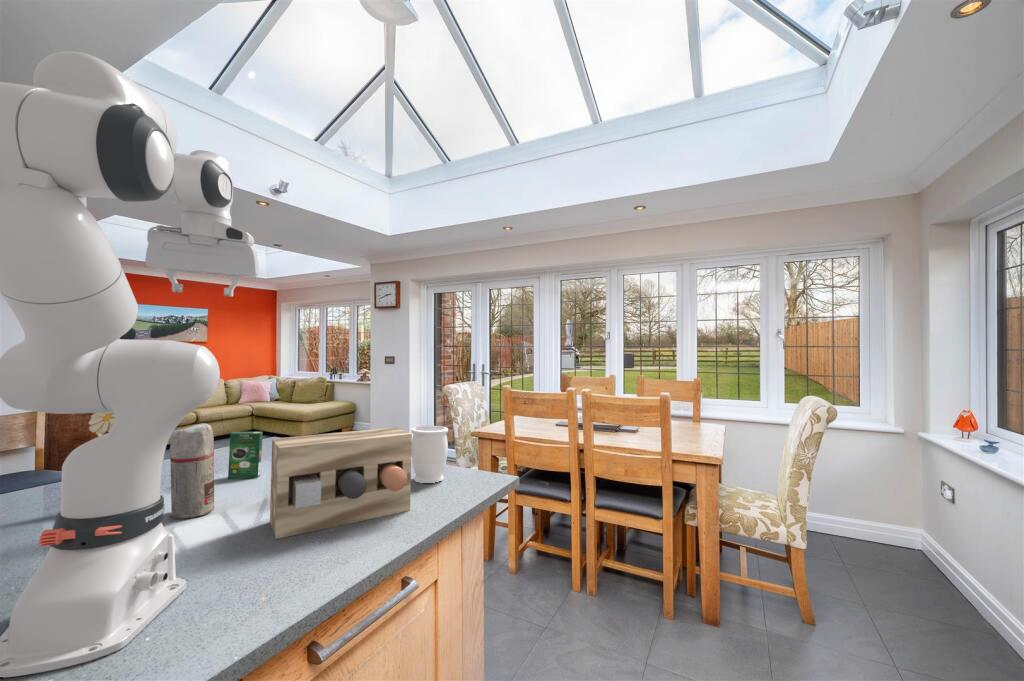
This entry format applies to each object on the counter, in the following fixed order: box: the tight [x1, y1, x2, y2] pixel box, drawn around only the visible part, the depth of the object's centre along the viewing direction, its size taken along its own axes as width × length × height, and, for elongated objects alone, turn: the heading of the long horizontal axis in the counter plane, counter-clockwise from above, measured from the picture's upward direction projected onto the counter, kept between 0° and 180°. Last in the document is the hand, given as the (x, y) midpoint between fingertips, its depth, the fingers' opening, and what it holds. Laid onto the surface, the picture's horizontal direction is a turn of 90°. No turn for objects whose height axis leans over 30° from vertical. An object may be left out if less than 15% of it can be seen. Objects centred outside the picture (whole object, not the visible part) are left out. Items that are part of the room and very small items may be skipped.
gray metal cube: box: [291, 475, 321, 508], centre depth 88 cm, size 5×5×5 cm
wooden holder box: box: [269, 426, 413, 540], centre depth 98 cm, size 10×28×18 cm, turn 125°
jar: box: [411, 425, 449, 484], centre depth 126 cm, size 11×10×15 cm
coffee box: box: [227, 431, 263, 479], centre depth 125 cm, size 8×3×13 cm, turn 103°
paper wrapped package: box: [168, 423, 215, 520], centre depth 98 cm, size 8×8×20 cm
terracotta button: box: [378, 463, 407, 491], centre depth 98 cm, size 5×5×5 cm
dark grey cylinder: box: [337, 469, 367, 499], centre depth 93 cm, size 5×5×5 cm
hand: (203, 294), depth 95 cm, fingers open, 8 cm apart
